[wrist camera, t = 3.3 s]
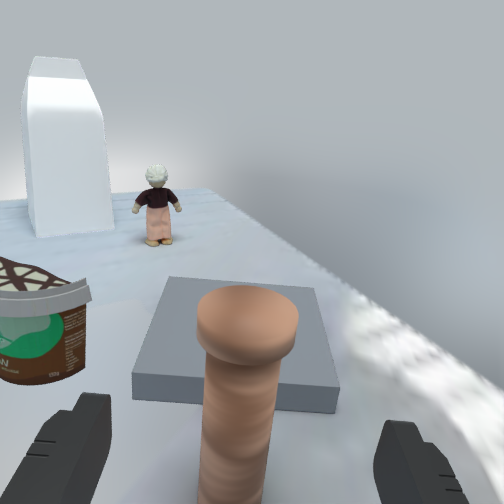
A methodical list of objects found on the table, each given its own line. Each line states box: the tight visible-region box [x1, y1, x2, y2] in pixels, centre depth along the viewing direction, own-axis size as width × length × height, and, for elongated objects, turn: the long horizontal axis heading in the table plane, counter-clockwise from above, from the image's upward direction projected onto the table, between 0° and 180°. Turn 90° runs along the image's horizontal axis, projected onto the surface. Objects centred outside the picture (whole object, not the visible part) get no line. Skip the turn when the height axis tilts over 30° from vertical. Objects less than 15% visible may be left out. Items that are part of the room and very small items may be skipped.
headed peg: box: [196, 285, 299, 504], centre depth 27 cm, size 6×6×16 cm
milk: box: [20, 56, 115, 238], centre depth 70 cm, size 12×12×26 cm
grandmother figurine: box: [132, 164, 182, 246], centre depth 67 cm, size 8×4×13 cm, turn 128°
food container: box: [0, 257, 92, 385], centre depth 39 cm, size 12×6×10 cm, turn 64°
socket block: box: [132, 276, 340, 414], centre depth 46 cm, size 18×18×3 cm
